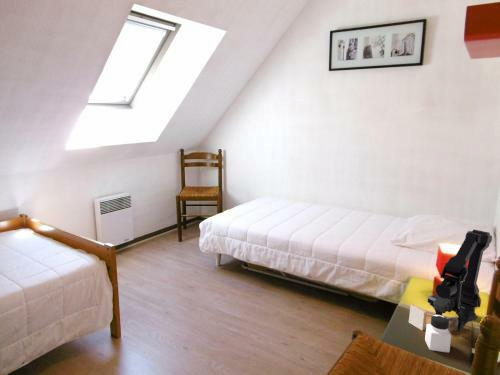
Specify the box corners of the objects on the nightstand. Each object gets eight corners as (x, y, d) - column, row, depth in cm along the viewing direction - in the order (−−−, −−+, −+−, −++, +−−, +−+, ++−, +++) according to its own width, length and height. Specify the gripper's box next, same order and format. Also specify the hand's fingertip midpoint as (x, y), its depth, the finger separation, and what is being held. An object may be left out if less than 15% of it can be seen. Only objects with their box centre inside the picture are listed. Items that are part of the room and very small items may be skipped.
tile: (411, 321, 160) (413, 304, 159) (424, 329, 154) (426, 311, 153) (408, 322, 159) (410, 305, 158) (422, 330, 153) (424, 312, 152)
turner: (453, 323, 160) (454, 315, 159) (464, 329, 155) (465, 320, 154) (427, 330, 153) (428, 321, 152) (437, 337, 149) (439, 327, 148)
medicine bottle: (449, 353, 138) (453, 323, 136) (429, 350, 139) (432, 320, 137) (443, 342, 145) (447, 314, 143) (424, 339, 146) (427, 311, 144)
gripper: (420, 285, 157) (416, 319, 160) (460, 304, 140) (455, 342, 143) (438, 281, 162) (434, 314, 164) (479, 300, 145) (474, 336, 147)
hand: (448, 326), depth 154 cm, fingers open, 9 cm apart
